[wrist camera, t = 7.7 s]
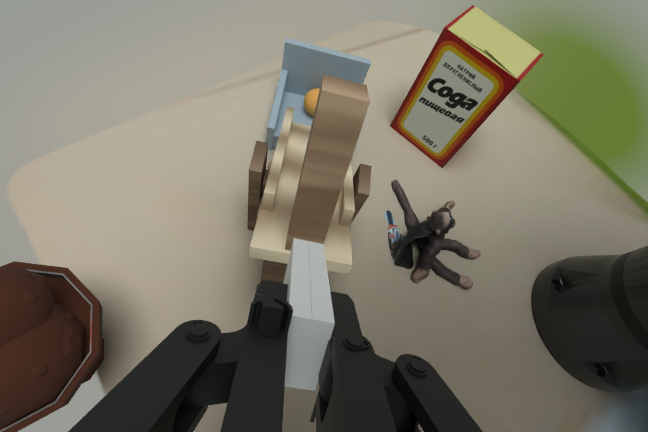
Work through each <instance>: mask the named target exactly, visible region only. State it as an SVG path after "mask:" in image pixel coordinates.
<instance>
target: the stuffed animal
mask: <svg viewBox="0 0 648 432" xmlns="http://www.w3.org/2000/svg"><path fill="white" fill-rule="evenodd" d="M392 188H393V191H394V192H395V194H396V196H397V199H398V201H399V203H400V205H401V207H402V209H403V211H404V216H405V225H406V227H407V230H408V233H407V235H406V236H405V237H404V236H402V235H401V234H400V232H399V231H398V228H397V226H396V224H395V221H394V218H393V216H392V214H391V212H390V211H386V212H385V218H386V221H387V224H388V240H389V247H390V251H391V255H392V257H393V259H394V261H395V265H397V266H402V267H405V268H407V269H411V268H412V267H413V264H414V261H413V251H412V245H411V242H412V241H414V240H415V241H416V242H417V248H418V250H419V252H420V256H419V262H418V264H417V267H416V268H415V269H414V270H413V272H412V274H411V279H412V280H413V282H414V283H419V282H420V281H421V280H422V279H424V278H426V277H427V276H428V275H429V271H430V268H431V269H432V270H433V271H434V272H435V274H436V275H439V276H441V277H442V278H444V279H446V280H447V281H449V282H451V283H452V284H454V285H459V286H462V287H464V288H468V289H470V288H471V287H472V286H473V283H472V281H470V279H469V278H468V277H465V276H460V275H459V274H458V273H456V272H453V271H451V270H450V269H448V268H447V267H446V266H444V265H443V264H442V263H441V262H440V261H439V260H438V259H437V258H436V257H435V256H436V255H437V254H438V253H439V252H440V250H449V251H453V252H455V253H456V254H457V255H459V256H460V257H463V258H467V259H474V258H477V257H479V256H480V251H479V250H473V249H468V247H466V246H464V245H462V244H461V243H460V242H457V241H455V240H450V239H445V238H444V236H445V234H446V233H448V231H449V229H451V228H453V227H454V226H455V224H456V223H455V220H454V219H453V218H452V216H451V212H450V210H451V209H452V208H453V207H454V205H455V202H454V201H449V202H447V203H446V204H445V206H444V207H443V208H441V209H439V210H438V211H437V210H434V211H432V215H431V216H430V217H429V216H428V217H427V221H424V222H421V223H419V221H418V218H417V217H416V215H415V213H414V212H413V210H412V209H411V207H410V204H409V202H408V199H407V197H406V195H405V193H404V190H403V189H402V187H401V186H400V184H399V182H398V181H397V180H394V181H393V182H392Z"/></svg>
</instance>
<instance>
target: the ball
mask: <svg viewBox="0 0 648 432" xmlns="http://www.w3.org/2000/svg"><path fill="white" fill-rule="evenodd" d="M319 90H320V89H319V88H315V89H312V90H310V91H309V92H308V93H307V94H306V95H305V97H304V107H305V109H306V111H307V112H308V113H309V114H311V115H313V116H314V112H315V108H316V103H317V99H318V95H319Z"/></svg>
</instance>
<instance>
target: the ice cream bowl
mask: <svg viewBox="0 0 648 432" xmlns="http://www.w3.org/2000/svg"><path fill="white" fill-rule="evenodd" d="M103 360H104V339H103V338H102V306H101V304H100V302H99V300H98V299H97V298H96V297H95V296H94V295H93V294H92V293H91V292H90V291H89V290H88V289H87V288H86V287H85V286H84V285H83V284H82V283H81V282H80V281H79V279H78V278H77V277H76V276H75V275H74V274H73V273H72V272H71V271H70V270H69V269H68V268H62V267H54V266H46V265H38V264H30V263H22V262H12V263H9V264H6V265H4V266H1V267H0V432H17V431H19V430H21V429H23V428H25V427H26V426H28V425H30V424H32V423H34V422H36V421H37V420H39V419H41V418H43V417H45V416H47V415H49V414H50V413H52V412H54V411H56V410H58V409H60V408H61V407H63V406H65V405H67V404H68V403H69V401H70V400H71V398H72V397H73V396H74V394H75V393H76V391H77V390H78V388H79V387H80V385H81V384H82V383H84V382H86V381H88V380H90V379H91V377H92V376H93V374H94V373H95V371H96V370H97V368H98V367H99V365H100V364H101V362H102V361H103Z"/></svg>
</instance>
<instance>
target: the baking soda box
mask: <svg viewBox="0 0 648 432" xmlns="http://www.w3.org/2000/svg"><path fill="white" fill-rule="evenodd" d="M542 56H543V54H542V53H541V52H539V51H538V50H537V49H535V48H534V47H532V46H531V45H529V44H528V43H527V42H525V41H524V40H522V39H521V38H520V37H518V36H517V35H515V34H514V33H512V32H511V31H509V30H508V29H506V28H505V27H504V26H502V25H501V24H499V23H498V22H496V21H495V20H493V19H492V18H491V17H489V16H488V15H486V14H485V13H484V12H482V11H480V10H479V9H478V8H476V7H475V6H472V7H470V8H469V9H468V10H466V11H465V12H464V13H462V14H461V15H460V16H458V17H457V18H456V19H455V20H453V21H452V22H451V23H449V24H448V25H447V26H445V27H444V29H443V31H442V33H441V35H440V36H439V38H438V40H437V42H436V44H435V46H434V47H433V49H432V51H431V53H430V55H429V56H428V58H427V60H426V62H425V64H424V65H423V67H422V69H421V71H420V73H419V74H418V76H417V78H416V80H415V82H414V83H413V85H412V87H411V89H410V91H409V92H408V94H407V96H406V98H405V100H404V101H403V103H402V105H401V107H400V109H399V111H398V112H397V114H396V116H395V118H394V120H393V121H392V123H391V125H390V126H391V127H392V128H393V129H394V130H396V131H397V132H398V133H399V134H401V135H402V136H403V137H404V138H406V139H407V140H408V141H409V142H411V143H412V144H413V145H414V146H415V147H417V148H418V149H419V150H420V151H422V152H423V153H424V154H425V155H427V156H428V157H429V158H430V159H432V160H433V161H434V162H435V163H437V164H438V165H439V166H440V167H442V168H443V167H444V166H445V165H446V163H447V162H448V161H449V160H450V159H451V158H452V157H453V156H454V154H455V153H456V152H457V151H458V150H459V149H460V148H461V147H462V146H463V144H464V143H465V142H466V141H467V140H468V139H469V138H470V137H471V136H472V134H473V133H474V132H475V131H476V130H477V129H478V128H479V127H480V125H481V124H482V123H483V122H484V121H485V120H486V119H487V118H488V117H489V115H490V114H491V113H492V112H493V111H494V110H495V109H496V108H497V107H498V105H499V104H500V103H501V102H502V101H503V100H504V99H505V98H506V96H507V95H508V94H509V93H510V92H511V91H512V90H513V89H514V88H515V86H516V85H517V84H518V83H519V82H520V81H521V80H522V79H523V77H524V76H525V75H526V74H527V73H528V72H529V71H530V70H531V68H532V67H533V66H534V65H535V64H536V63H537V62H538V61H539V59H540V58H541V57H542Z"/></svg>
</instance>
